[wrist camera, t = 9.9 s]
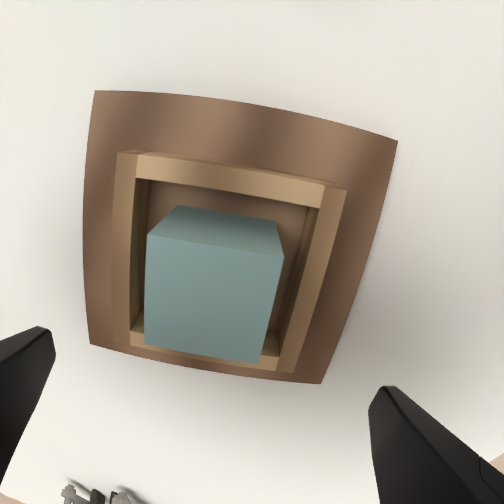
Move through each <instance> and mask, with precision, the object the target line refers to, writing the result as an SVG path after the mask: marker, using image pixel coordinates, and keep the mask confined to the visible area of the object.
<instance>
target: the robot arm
mask: <svg viewBox="0 0 504 504" xmlns="http://www.w3.org/2000/svg"><path fill="white" fill-rule="evenodd" d="M55 358H56V352H55V347H54V343H53V338H52V333H51V331H50V330H49V329H46V328H43V327H40V326H36V327H33V328H31V329H28V330H26V331H23V332H21V333H18V334H16V335H13V336H11V337H8V338H6V339H4V340H1V341H0V485H1V482H2V480H3V477H4V475H5V472H6V470H7V468H8V465H9V463H10V461H11V458H12V456H13V454H14V451H15V449H16V447H17V445H18V443H19V440H20V438H21V436H22V434H23V432H24V430H25V428H26V426H27V424H28V422H29V420H30V417H31V415H32V413H33V412H34V410H35V407H36V405H37V403H38V401H39V399H40V396H41V394H42V391H43V388H44V386H45V383H46V381H47V378H48V376H49V374H50V371H51V369H52V366H53V364H54V362H55ZM368 416H369V427H370V438H371V451H372V460H373V466H374V471H375V476H376V482H377V488H378V493H379V499H380V504H504V474H502V473H501V472H499V471H498V470H497V469H496V468H494V467H493V466H491V465H490V464H489V463H488V462H487V461H486V460H484V459H483V458H482V457H479V455H478V454H477V453H476V452H474V451H473V450H472V449H471V448H470V447H468V446H467V445H466V444H465V443H463V442H462V441H461V440H460V439H459V438H457V437H456V436H455V435H454V434H453V433H451V432H450V431H449V430H448V429H447V428H445V427H444V426H443V425H442V424H440V423H439V422H438V421H437V420H436V419H434V418H433V417H432V416H431V415H430V414H428V413H427V412H426V411H425V410H424V409H422V408H421V407H420V406H419V405H418V404H416V403H415V402H414V401H413V400H412V399H410V398H409V397H408V396H407V395H406V394H404V393H403V392H402V391H401V390H400V389H398V388H397V387H396V386H382V387H381V388H380V389H379V390H378V392H377V394H376V396H375V397H374V399H373V401H372V402H371V404H370V406H369V410H368Z"/></svg>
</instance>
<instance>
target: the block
mask: <svg viewBox="0 0 504 504" xmlns="http://www.w3.org/2000/svg"><path fill="white" fill-rule="evenodd" d="M283 261H284V255H283V251H282V246H281V242H280V238H279V234H278V230H277V226H276V222H275V221H273V220H268V219H262V218H257V217H251V216H245V215H239V214H233V213H227V212H221V211H215V210H209V209H203V208H197V207H191V206H184V205H177V206H176V207H175V208H174V209H173V210H172V211H171V212H170V213H169V214H168V215H166V216H165V217H164V218H163V219H162V220H161V221H160V222H159V223H158V224H157V225H156V226H155V227H154V228H153V229H152V230H151V231H150V232H149V233H148V234H147V248H146V267H145V296H144V344H148V345H152V346H157V347H161V348H166V349H171V350H176V351H181V352H186V353H192V354H197V355H203V356H209V357H215V358H221V359H227V360H234V361H241V362H248V363H255V364H258V363H259V359H260V355H261V351H262V347H263V343H264V339H265V335H266V331H267V327H268V323H269V319H270V315H271V311H272V307H273V303H274V299H275V294H276V290H277V286H278V282H279V278H280V273H281V269H282V265H283Z"/></svg>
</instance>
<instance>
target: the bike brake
mask: <svg viewBox="0 0 504 504" xmlns="http://www.w3.org/2000/svg"><path fill="white" fill-rule="evenodd" d="M74 488H75V487H74V486H73V485H70V484H68V486H66V487H65V490H64V489H62V493H61V496H62V497H64V498H65V500H64V504H71V502H73V504H105V496H103V495H102V494H101V493H99V492H98V491H96V490H94V489H93V490H92V491H91V497H90V502H89V501H87V500H86V499H84V498H82V497H80V496H78V495H76V490H75V489H74ZM126 495H127V494H126V493H123V492H119V494H115V493H114V492H112V493H111V497H110V503H109V504H131V503H130V502H128V500H129V498H128V497H127V496H126Z"/></svg>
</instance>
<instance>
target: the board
mask: <svg viewBox="0 0 504 504" xmlns="http://www.w3.org/2000/svg"><path fill="white" fill-rule="evenodd" d="M397 144H398V141H397V140H394V139H391V138H388V137H385V136H382V135H378V134H375V133H372V132H369V131H365V130H362V129H359V128H355V127H352V126H348V125H344V124H341V123H337V122H333V121H329V120H325V119H321V118H317V117H313V116H309V115H304V114H300V113H295V112H291V111H286V110H281V109H276V108H271V107H266V106H260V105H255V104H249V103H243V102H236V101H230V100H223V99H215V98H208V97H199V96H190V95H180V94H169V93H155V92H138V91H100V90H95V93H94V99H93V105H92V112H91V119H90V126H89V135H88V143H87V153H86V165H85V178H84V197H83V269H84V288H85V302H86V313H87V323H88V332H89V340H90V344H93V345H96V346H100V347H103V348H107V349H111V350H114V351H118V352H122V353H126V354H130V355H134V356H138V357H143V358H147V359H151V360H156V361H160V362H165V363H170V364H175V365H180V366H185V367H190V368H196V369H201V370H207V371H213V372H219V373H225V374H232V375H238V376H246V377H253V378H261V379H269V380H278V381H288V382H298V383H310V384H321V382H322V380H323V377H324V375H325V373H326V370H327V368H328V366H329V363H330V361H331V358H332V356H333V353H334V351H335V349H336V346H337V343H338V341H339V338H340V336H341V333H342V331H343V328H344V325H345V323H346V320H347V317H348V315H349V312H350V309H351V306H352V303H353V301H354V298H355V295H356V292H357V289H358V286H359V283H360V280H361V277H362V274H363V271H364V268H365V265H366V262H367V259H368V255H369V252H370V249H371V246H372V242H373V239H374V236H375V232H376V229H377V225H378V222H379V218H380V214H381V211H382V207H383V203H384V199H385V195H386V191H387V187H388V183H389V179H390V175H391V171H392V167H393V162H394V158H395V153H396V148H397ZM177 205H184V206H191V207H197V208H203V209H209V210H215V211H221V212H227V213H233V214H239V215H245V216H251V217H257V218H262V219H268V220H273V221H275V222H276V226H277V230H278V234H279V238H280V242H281V246H282V251H283V255H284V261H283V265H282V269H281V273H280V278H279V282H278V286H277V290H276V294H275V299H274V303H273V307H272V311H271V315H270V319H269V323H268V327H267V331H266V335H265V339H264V343H263V347H262V351H261V355H260V359H259V363H258V364H255V363H248V362H241V361H234V360H227V359H221V358H215V357H209V356H203V355H197V354H192V353H186V352H181V351H176V350H171V349H166V348H161V347H157V346H152V345H148V344H144V296H145V267H146V248H147V234H148V233H149V232H150V231H151V230H152V229H153V228H154V227H155V226H156V225H157V224H158V223H159V222H160V221H161V220H162V219H163V218H164V217H165V216H166V215H168V214H169V213H170V212H171V211H172V210H173V209H174V208H175V207H176V206H177Z"/></svg>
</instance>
